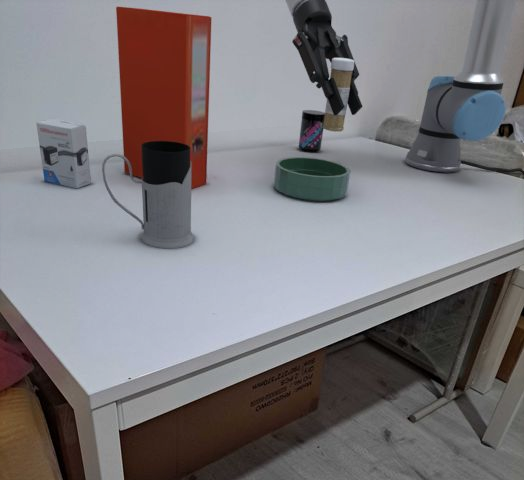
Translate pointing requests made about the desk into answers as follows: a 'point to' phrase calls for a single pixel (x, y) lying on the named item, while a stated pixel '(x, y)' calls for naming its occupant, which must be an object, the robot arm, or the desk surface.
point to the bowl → (311, 178)
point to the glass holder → (163, 193)
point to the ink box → (64, 152)
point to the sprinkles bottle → (342, 79)
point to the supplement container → (311, 130)
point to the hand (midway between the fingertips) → (348, 110)
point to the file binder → (164, 83)
